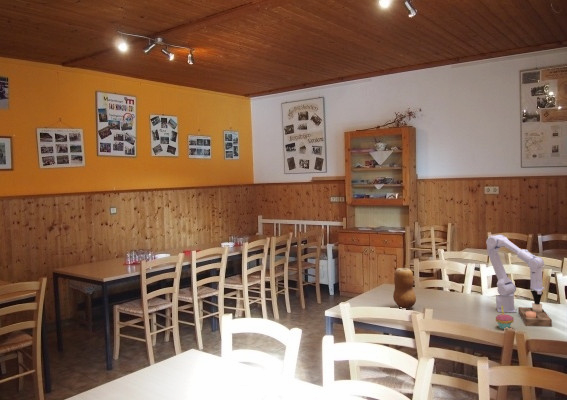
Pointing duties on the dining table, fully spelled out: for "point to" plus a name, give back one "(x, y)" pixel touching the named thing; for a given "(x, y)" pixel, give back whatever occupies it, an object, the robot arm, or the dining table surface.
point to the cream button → (536, 307)
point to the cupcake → (504, 320)
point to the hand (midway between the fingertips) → (537, 303)
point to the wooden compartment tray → (540, 319)
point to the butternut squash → (404, 288)
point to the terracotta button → (531, 314)
